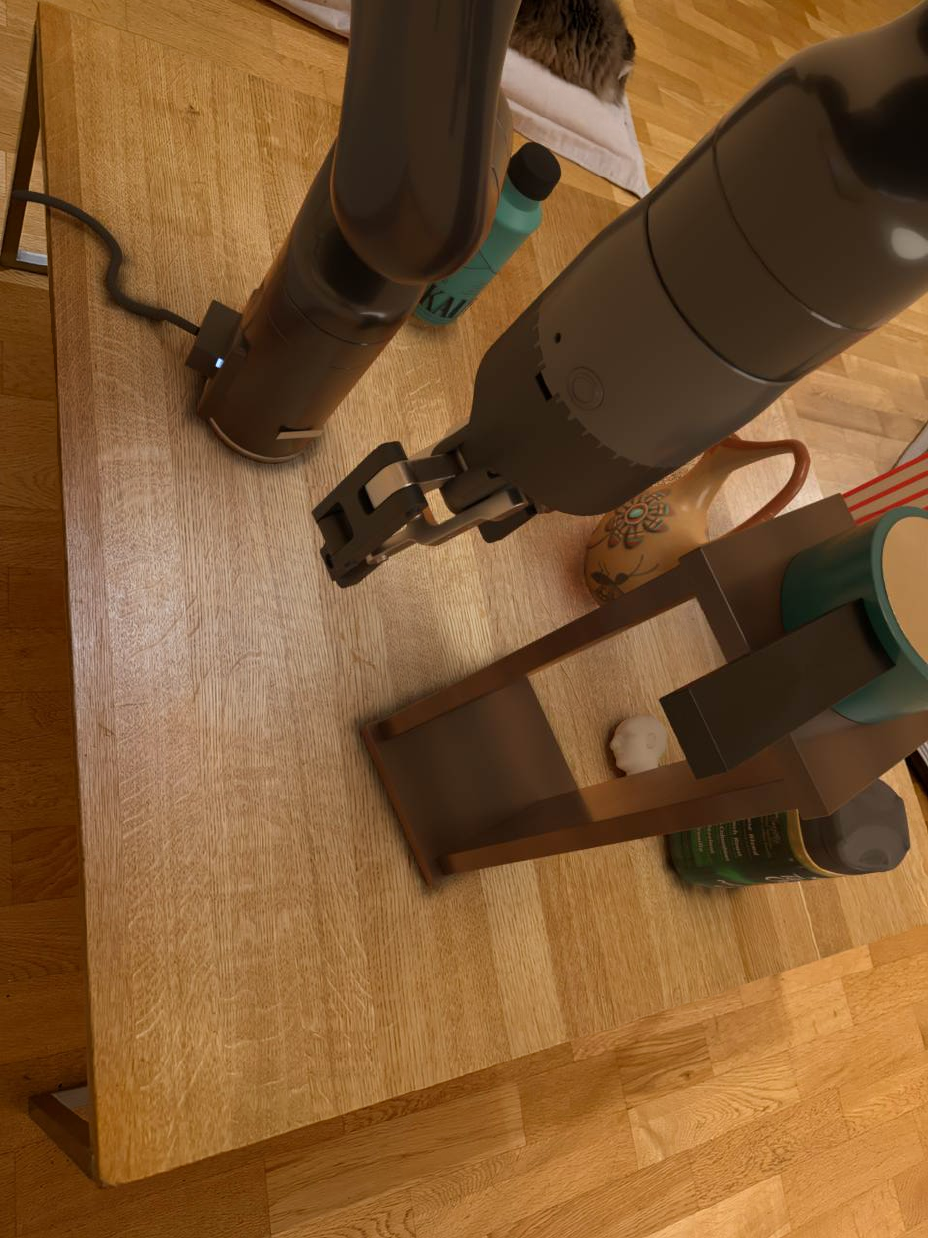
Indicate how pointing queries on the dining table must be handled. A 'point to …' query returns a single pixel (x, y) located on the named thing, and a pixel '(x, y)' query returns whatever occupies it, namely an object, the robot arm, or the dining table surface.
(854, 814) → the coffee jar
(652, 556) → the ceramic vessel
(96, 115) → the dining table surface
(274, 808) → the dining table surface
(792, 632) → the milk pan
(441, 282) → the beverage bottle
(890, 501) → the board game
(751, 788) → the shelf stand
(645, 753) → the smooth white sculpture
